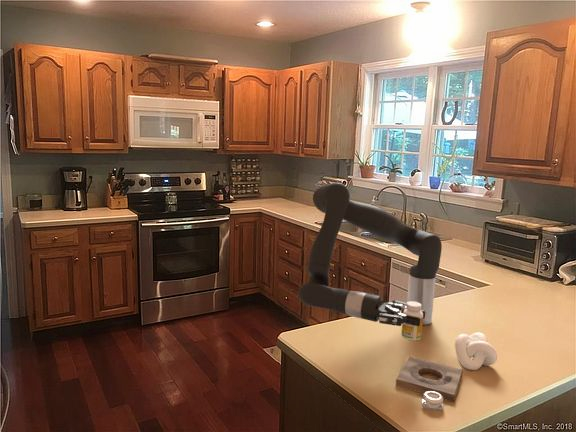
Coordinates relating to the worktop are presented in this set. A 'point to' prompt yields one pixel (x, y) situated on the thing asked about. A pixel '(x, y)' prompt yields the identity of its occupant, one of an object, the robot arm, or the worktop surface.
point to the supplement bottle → (411, 330)
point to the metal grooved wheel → (432, 401)
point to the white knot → (474, 351)
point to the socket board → (415, 382)
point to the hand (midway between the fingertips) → (422, 318)
